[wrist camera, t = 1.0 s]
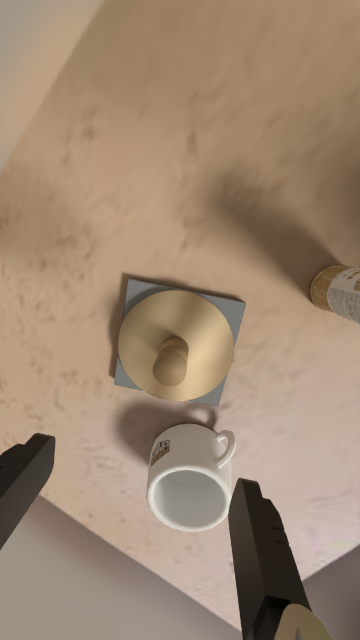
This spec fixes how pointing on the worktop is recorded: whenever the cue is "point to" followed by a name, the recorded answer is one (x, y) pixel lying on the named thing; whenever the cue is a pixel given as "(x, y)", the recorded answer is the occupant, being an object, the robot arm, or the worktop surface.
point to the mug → (190, 477)
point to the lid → (176, 345)
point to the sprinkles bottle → (338, 291)
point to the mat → (227, 306)
